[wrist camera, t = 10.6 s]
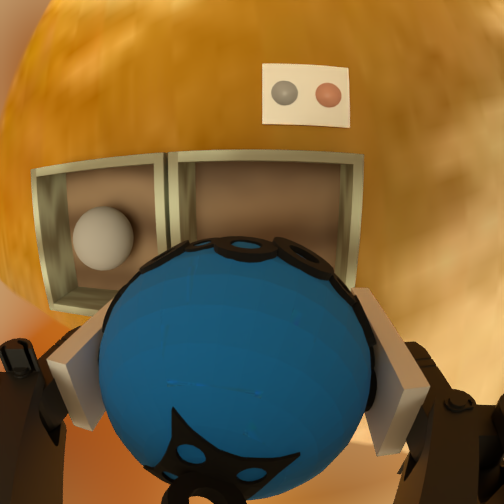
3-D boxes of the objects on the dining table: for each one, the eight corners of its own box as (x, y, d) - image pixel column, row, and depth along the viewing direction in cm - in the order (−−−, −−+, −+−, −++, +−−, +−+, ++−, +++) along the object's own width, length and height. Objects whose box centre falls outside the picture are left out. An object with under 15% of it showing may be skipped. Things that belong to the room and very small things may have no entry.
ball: (92, 203, 29) (57, 212, 23) (141, 201, 28) (111, 210, 23) (97, 258, 31) (65, 277, 25) (145, 260, 30) (118, 282, 24)
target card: (262, 64, 25) (262, 63, 25) (347, 68, 24) (348, 67, 24) (262, 124, 27) (262, 123, 26) (349, 128, 26) (350, 127, 26)
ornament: (134, 341, 14) (24, 496, 5) (195, 177, 12) (-25, 229, 2) (287, 408, 15) (285, 587, 5) (383, 270, 12) (524, 451, 3)
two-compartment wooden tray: (64, 164, 29) (29, 167, 23) (349, 154, 27) (366, 151, 21) (77, 290, 33) (49, 311, 27) (338, 305, 31) (349, 335, 25)
